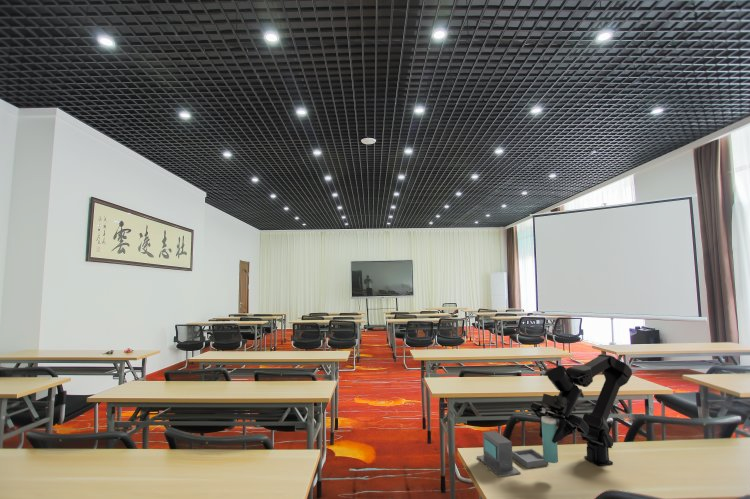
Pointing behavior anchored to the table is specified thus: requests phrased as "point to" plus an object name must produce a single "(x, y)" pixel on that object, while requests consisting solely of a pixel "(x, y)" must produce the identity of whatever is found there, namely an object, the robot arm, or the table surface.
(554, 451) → the canister
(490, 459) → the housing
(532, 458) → the holder tray
